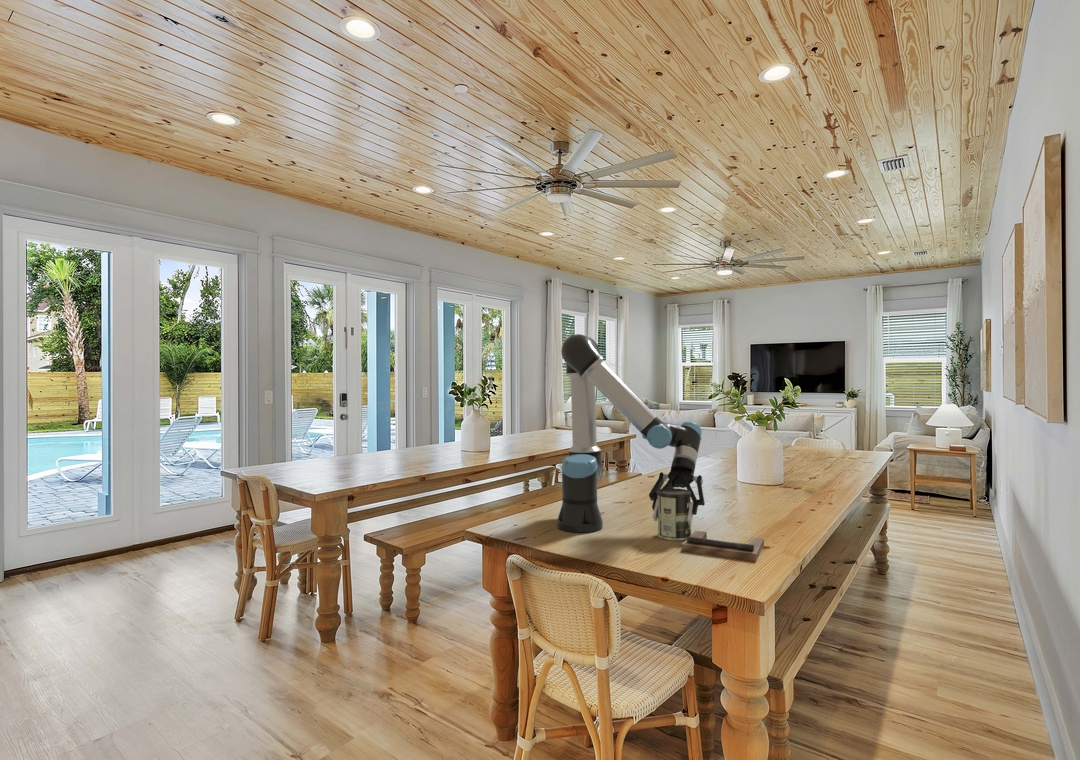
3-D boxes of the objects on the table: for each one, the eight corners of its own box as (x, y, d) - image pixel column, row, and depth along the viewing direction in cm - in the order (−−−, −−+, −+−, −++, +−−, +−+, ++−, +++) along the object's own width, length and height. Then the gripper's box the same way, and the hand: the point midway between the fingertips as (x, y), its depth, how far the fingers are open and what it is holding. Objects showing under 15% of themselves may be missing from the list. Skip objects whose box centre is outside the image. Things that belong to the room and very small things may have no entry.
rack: (682, 551, 162) (681, 538, 162) (695, 536, 176) (695, 525, 176) (756, 561, 152) (756, 547, 152) (763, 545, 166) (763, 533, 166)
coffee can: (690, 532, 181) (689, 488, 181) (692, 541, 171) (691, 495, 171) (657, 531, 183) (657, 487, 183) (657, 540, 173) (657, 494, 173)
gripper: (720, 471, 185) (711, 531, 171) (653, 467, 196) (639, 523, 182) (717, 457, 180) (707, 518, 166) (648, 453, 191) (633, 510, 177)
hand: (671, 520), depth 174 cm, fingers closed on coffee can, 10 cm apart
